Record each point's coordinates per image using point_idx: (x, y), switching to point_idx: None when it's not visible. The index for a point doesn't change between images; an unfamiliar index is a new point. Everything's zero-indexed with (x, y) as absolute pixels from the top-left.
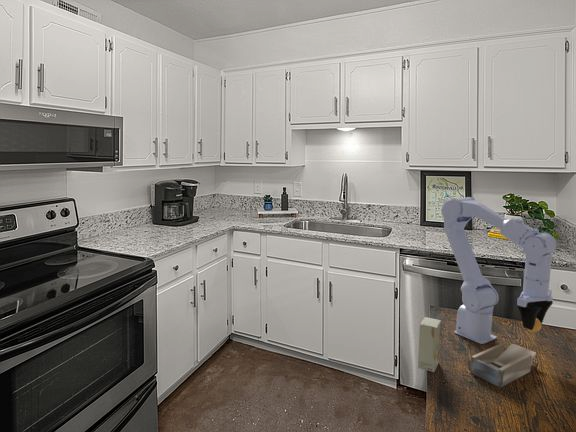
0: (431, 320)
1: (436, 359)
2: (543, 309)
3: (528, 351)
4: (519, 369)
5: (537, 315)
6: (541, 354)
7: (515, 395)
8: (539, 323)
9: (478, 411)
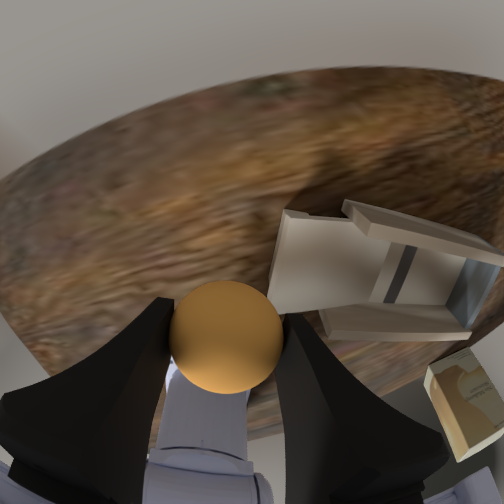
0: (477, 448)
1: (467, 367)
2: (126, 404)
3: (296, 246)
4: (428, 226)
5: (152, 371)
6: (154, 212)
7: (489, 198)
8: (239, 317)
9: None
